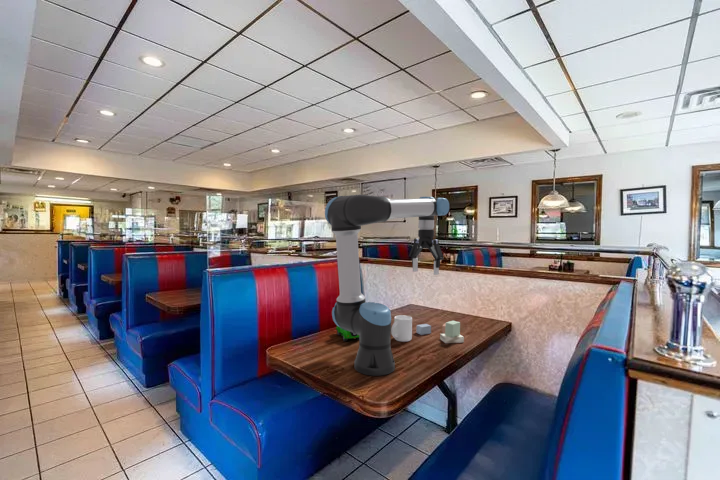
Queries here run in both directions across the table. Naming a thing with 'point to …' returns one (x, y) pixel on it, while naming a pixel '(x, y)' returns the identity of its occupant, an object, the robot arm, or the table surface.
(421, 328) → the slate brick
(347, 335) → the toy car
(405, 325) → the mug
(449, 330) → the green brick
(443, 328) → the terracotta brick
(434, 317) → the table surface
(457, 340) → the cream brick
